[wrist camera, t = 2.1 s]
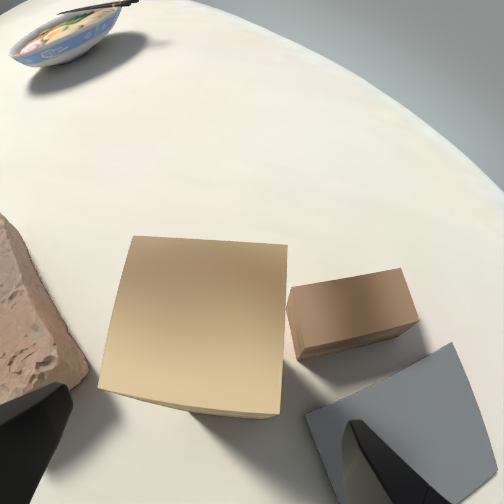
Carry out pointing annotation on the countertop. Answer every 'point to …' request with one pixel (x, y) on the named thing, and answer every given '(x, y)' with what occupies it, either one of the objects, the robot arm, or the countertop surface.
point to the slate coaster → (416, 426)
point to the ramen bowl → (68, 35)
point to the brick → (30, 327)
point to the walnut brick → (349, 312)
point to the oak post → (199, 326)
